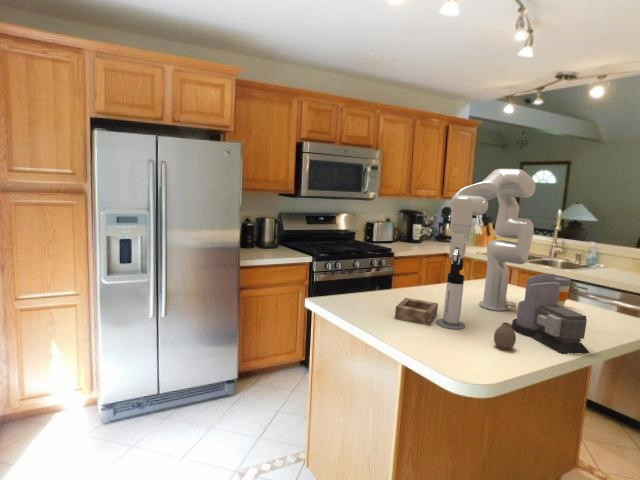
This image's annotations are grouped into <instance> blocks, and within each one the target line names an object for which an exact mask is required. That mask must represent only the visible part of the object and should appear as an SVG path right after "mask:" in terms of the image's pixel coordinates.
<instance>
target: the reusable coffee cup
mask: <svg viewBox="0 0 640 480" xmlns="http://www.w3.org/2000/svg"><path fill="white" fill-rule="evenodd" d="M555 275H556V278H555V282H557V283H559V284H560V290H559V297H558V305H560V306H562V307H564V306H565V303H566V301H567V300H568V296H569V293H570V291H569V290H570V287H571V286H572V279H571V278H569V277H568V276H563V275H558V274H555Z"/></svg>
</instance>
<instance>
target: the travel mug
mask: <svg viewBox="0 0 640 480" xmlns="http://www.w3.org/2000/svg"><path fill="white" fill-rule="evenodd" d="M446 280H447V281H446V287H445V288H446V289H445V297H444V298H445V299H444V308H443V318H442V319H443V322H444V323H445V324H448V325H453V326H456V325H459V322H461V310H462V302H463V292H464V281H465V275H463V274H461V273H459V275H454V274H450V272H449V273H447V279H446Z"/></svg>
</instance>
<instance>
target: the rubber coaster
mask: <svg viewBox="0 0 640 480" xmlns="http://www.w3.org/2000/svg"><path fill="white" fill-rule="evenodd" d="M435 324H436V325H437V326H439V327H440V328H444V329H448V330H456V331H457V330H459V331H460V330H463V329H465V327H466V324H465V323H464V322H463V321H460V322H459V325H456V326H453V325H448V324H445V323H444V322H443V318H438V319H436V321H435Z"/></svg>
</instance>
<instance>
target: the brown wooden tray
mask: <svg viewBox="0 0 640 480" xmlns="http://www.w3.org/2000/svg"><path fill="white" fill-rule="evenodd" d="M438 307H439V303H438V302H433V301H426V300H421V299H415V298H409V297H404V299H403V300H401V301H400V303H398V304H397V305H396V306H395V310H394V311H395V313H394V319H395V320H400V321H406V322H410V323H415V324H421V325H427V326H430V325H431V324H432V323H433V321H434V319H435V318H436V317H437V315H438Z"/></svg>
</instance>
